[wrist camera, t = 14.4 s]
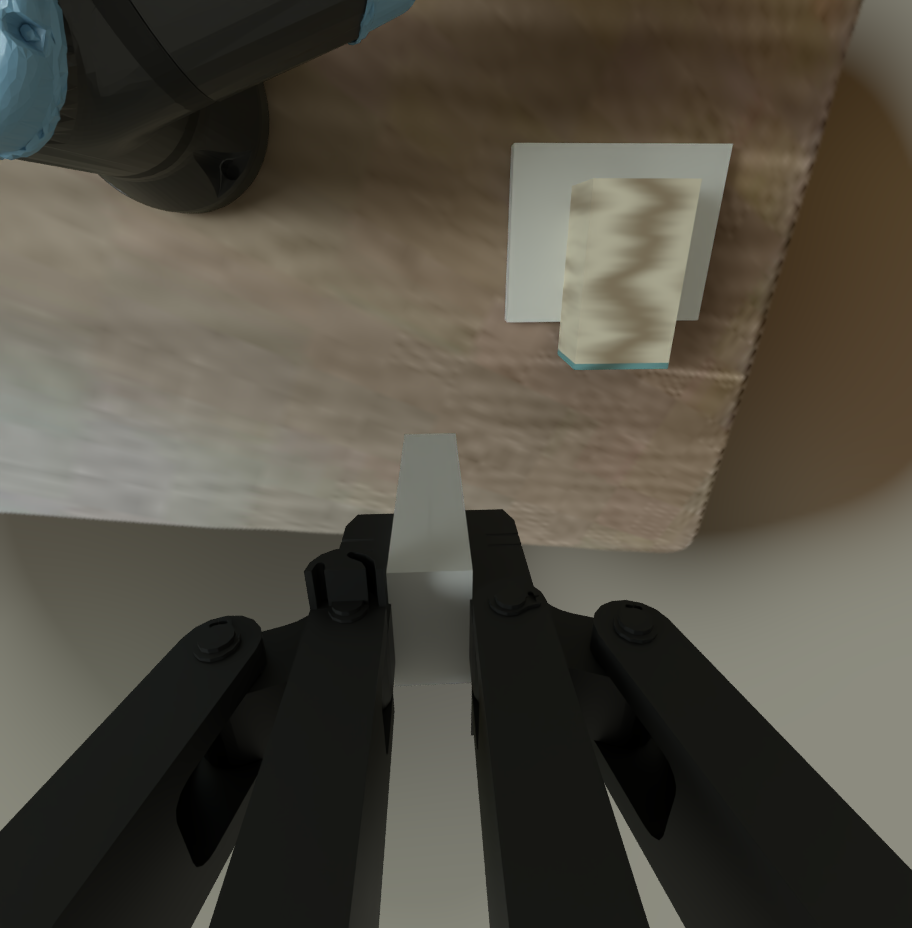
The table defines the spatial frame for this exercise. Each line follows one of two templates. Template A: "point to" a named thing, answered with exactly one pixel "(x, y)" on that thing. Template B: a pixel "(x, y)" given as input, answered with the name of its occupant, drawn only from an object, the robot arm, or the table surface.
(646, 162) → the pad
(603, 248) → the birch block
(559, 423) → the table surface
